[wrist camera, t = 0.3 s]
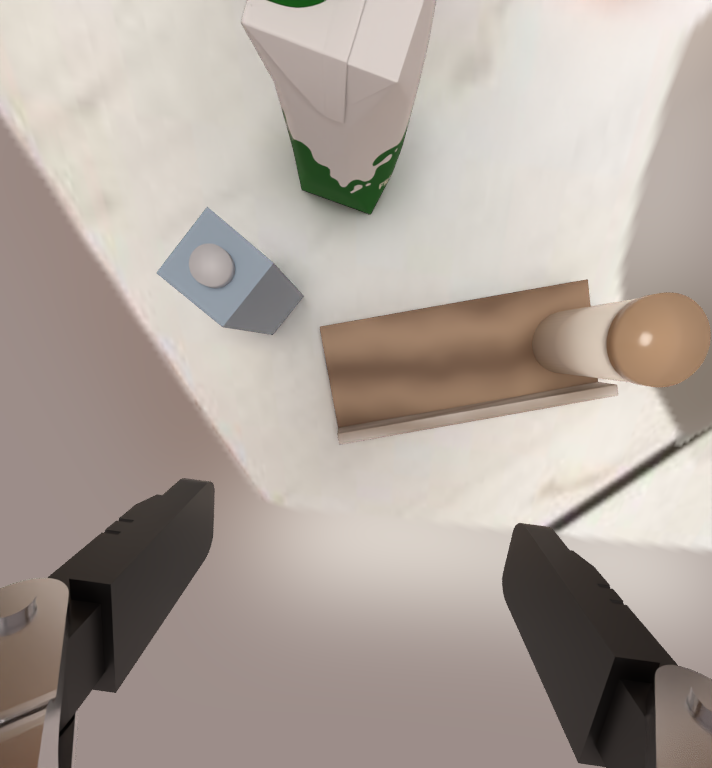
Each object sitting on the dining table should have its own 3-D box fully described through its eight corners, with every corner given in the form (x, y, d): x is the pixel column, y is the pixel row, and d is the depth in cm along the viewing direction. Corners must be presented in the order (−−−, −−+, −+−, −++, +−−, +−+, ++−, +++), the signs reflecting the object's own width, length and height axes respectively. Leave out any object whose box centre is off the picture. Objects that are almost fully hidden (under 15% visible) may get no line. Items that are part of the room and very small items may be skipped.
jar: (527, 316, 34) (613, 301, 23) (591, 304, 34) (707, 284, 23) (535, 379, 34) (621, 394, 23) (597, 368, 34) (713, 378, 23)
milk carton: (317, 104, 33) (269, -258, 13) (407, 138, 34) (491, -164, 14) (289, 196, 34) (205, -15, 14) (377, 228, 34) (415, 66, 15)
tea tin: (264, 262, 35) (201, 201, 20) (303, 296, 35) (270, 259, 20) (232, 303, 35) (147, 272, 20) (271, 335, 35) (216, 328, 21)
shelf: (321, 327, 35) (317, 325, 31) (574, 283, 35) (606, 274, 31) (340, 432, 37) (339, 444, 32) (585, 389, 37) (618, 395, 32)
